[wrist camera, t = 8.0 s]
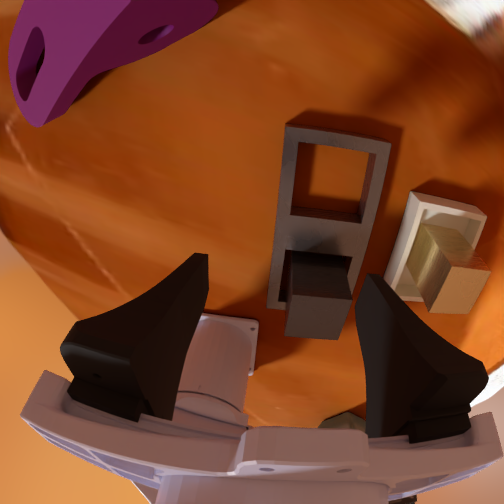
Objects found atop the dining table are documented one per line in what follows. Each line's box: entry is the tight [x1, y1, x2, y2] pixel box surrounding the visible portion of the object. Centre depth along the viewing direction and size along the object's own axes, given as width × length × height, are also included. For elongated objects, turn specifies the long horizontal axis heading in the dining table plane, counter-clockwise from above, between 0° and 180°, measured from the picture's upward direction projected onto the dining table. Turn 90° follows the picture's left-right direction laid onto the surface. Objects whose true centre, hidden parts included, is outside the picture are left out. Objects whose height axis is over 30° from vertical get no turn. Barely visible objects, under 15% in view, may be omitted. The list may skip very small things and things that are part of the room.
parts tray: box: [383, 191, 487, 302], centre depth 21 cm, size 9×7×2 cm
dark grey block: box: [284, 250, 353, 340], centre depth 22 cm, size 4×4×6 cm
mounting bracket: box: [8, 0, 218, 127], centre depth 13 cm, size 9×8×18 cm
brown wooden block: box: [406, 223, 491, 314], centre depth 19 cm, size 4×4×6 cm
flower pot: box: [318, 412, 366, 433], centre depth 36 cm, size 9×9×9 cm
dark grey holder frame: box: [266, 123, 391, 310], centre depth 22 cm, size 15×7×2 cm, turn 177°
